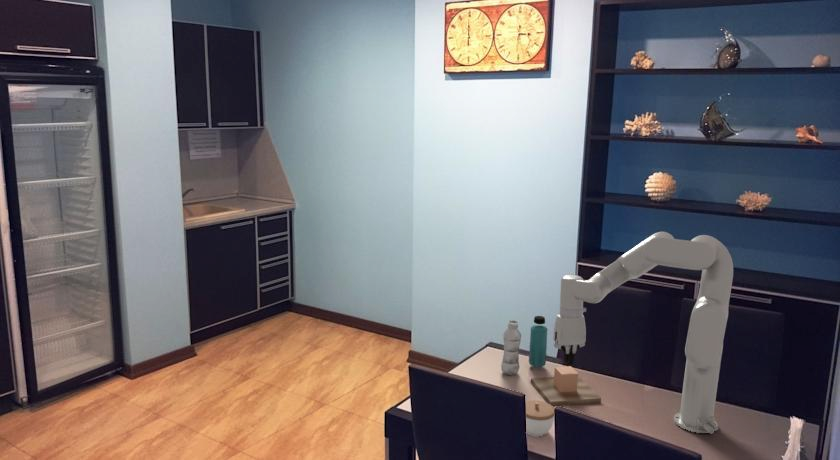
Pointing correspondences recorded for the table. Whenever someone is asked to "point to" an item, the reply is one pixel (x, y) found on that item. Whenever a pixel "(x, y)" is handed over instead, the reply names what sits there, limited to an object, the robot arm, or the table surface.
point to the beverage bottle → (538, 343)
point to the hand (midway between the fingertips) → (568, 363)
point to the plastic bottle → (511, 349)
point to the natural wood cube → (565, 379)
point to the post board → (564, 398)
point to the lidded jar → (538, 417)
